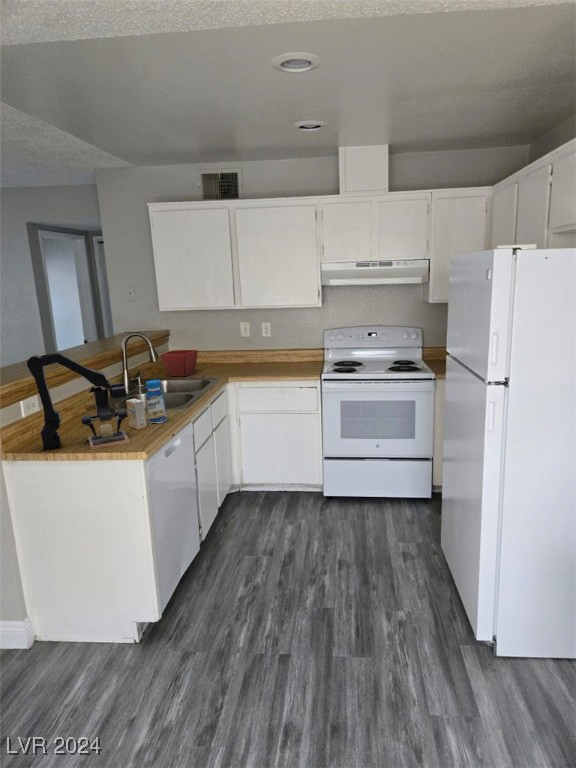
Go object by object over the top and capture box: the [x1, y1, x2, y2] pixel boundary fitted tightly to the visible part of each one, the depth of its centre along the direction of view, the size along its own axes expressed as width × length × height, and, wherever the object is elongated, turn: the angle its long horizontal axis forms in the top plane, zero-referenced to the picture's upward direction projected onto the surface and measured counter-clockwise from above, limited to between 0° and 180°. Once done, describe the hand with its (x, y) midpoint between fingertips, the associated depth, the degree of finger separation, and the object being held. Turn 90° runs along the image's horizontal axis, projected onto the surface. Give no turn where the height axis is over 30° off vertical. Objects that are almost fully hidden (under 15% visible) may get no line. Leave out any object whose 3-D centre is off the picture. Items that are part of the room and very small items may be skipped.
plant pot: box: [160, 349, 198, 377], centre depth 358 cm, size 19×19×17 cm
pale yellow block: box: [99, 423, 114, 439], centre depth 221 cm, size 4×4×6 cm
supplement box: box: [125, 398, 147, 431], centre depth 235 cm, size 8×5×13 cm, turn 45°
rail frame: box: [87, 429, 130, 451], centre depth 218 cm, size 15×17×1 cm
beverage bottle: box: [145, 379, 167, 424], centre depth 241 cm, size 8×8×20 cm
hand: (107, 435), depth 221 cm, fingers open, 9 cm apart
